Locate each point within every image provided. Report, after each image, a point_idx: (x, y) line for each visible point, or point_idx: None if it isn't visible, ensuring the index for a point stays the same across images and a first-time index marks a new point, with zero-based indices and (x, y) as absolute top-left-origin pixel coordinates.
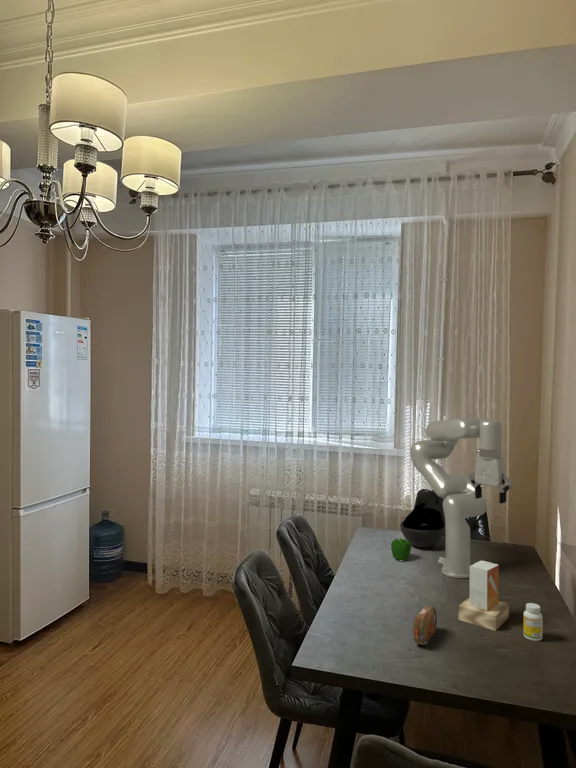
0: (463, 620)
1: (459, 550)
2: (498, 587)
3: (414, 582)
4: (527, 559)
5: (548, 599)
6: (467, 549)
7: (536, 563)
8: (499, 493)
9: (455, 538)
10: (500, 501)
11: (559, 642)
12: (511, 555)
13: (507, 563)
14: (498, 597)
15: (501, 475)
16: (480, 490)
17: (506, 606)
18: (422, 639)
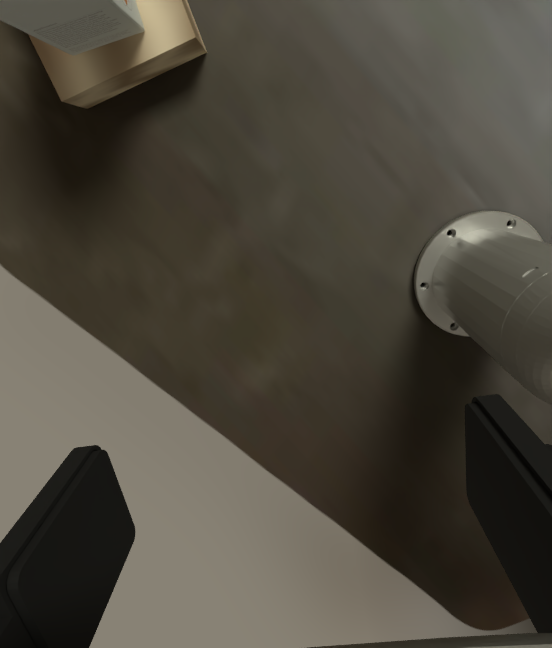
0: None
1: (490, 270)
2: (32, 35)
3: (530, 18)
4: (407, 554)
5: (148, 350)
6: (471, 312)
7: (368, 547)
8: (20, 565)
9: (542, 270)
10: (69, 460)
11: None
12: (462, 546)
13: (424, 484)
14: (58, 48)
15: None
16: (522, 569)
17: (48, 73)
18: None
